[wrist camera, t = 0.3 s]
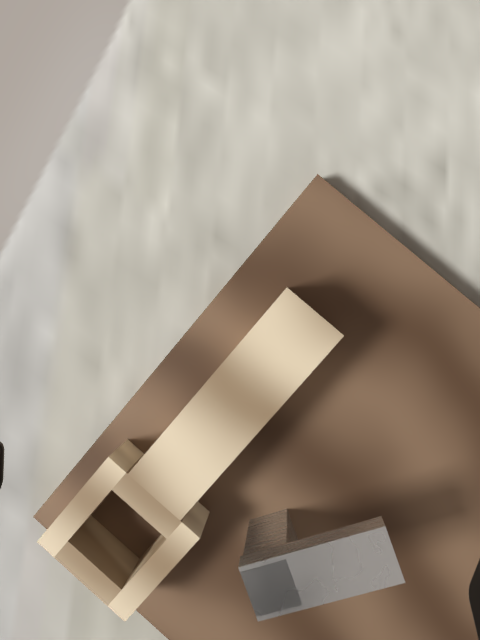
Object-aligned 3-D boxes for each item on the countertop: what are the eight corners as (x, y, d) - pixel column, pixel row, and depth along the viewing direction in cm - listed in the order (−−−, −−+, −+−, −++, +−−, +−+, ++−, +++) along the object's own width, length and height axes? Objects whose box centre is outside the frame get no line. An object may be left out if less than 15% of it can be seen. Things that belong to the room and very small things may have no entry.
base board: (405, 835, 24) (439, 994, 19) (43, 507, 25) (-26, 567, 20) (741, 530, 21) (896, 613, 16) (316, 179, 22) (324, 143, 17)
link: (142, 587, 24) (124, 621, 21) (63, 515, 24) (36, 541, 22) (357, 346, 22) (365, 354, 19) (268, 271, 22) (265, 269, 20)
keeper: (383, 526, 22) (405, 582, 18) (264, 560, 23) (257, 621, 19) (367, 480, 22) (385, 525, 18) (248, 516, 23) (238, 567, 19)
